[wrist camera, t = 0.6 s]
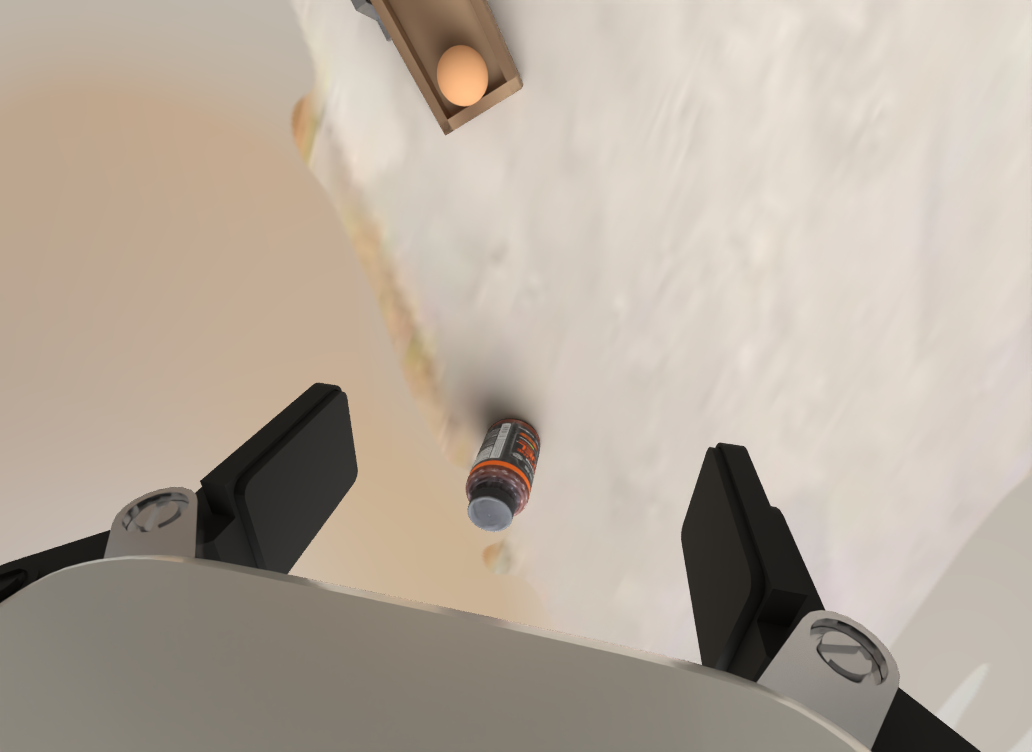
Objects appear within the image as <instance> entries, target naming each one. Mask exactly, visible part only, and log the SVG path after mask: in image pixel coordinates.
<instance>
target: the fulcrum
mask: <svg viewBox="0 0 1032 752" xmlns="http://www.w3.org/2000/svg"><path fill="white" fill-rule="evenodd" d="M351 1H352V3H353V5H354V7H355V9H356V11H358V12H360V13H362V14H364V15H366V16H368V17H370V18H372V19H374V20H376V21H378V23H379V25H380V27H381V29H382V31H383V33H384V35H385V37H386V39H387V41H390V40H392V39H391V37H390V35H389V33H388V31H387V30H386V28H385V26H384V24H383V23H382V21H381V19H380V17H379V15H378V14H377V12H376V10H375V8H374V6H373V5H372V3H371V1H370V0H351Z"/></svg>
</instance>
